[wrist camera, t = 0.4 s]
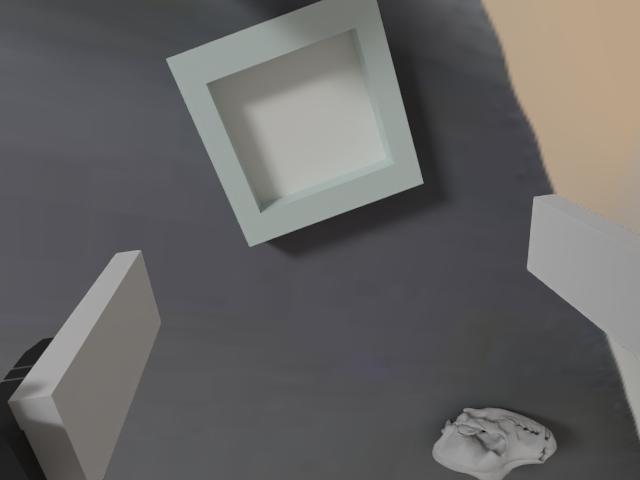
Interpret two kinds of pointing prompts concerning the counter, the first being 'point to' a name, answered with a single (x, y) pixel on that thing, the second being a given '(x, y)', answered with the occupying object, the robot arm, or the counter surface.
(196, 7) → the counter surface
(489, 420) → the skull
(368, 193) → the square shallow tray
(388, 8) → the counter surface
